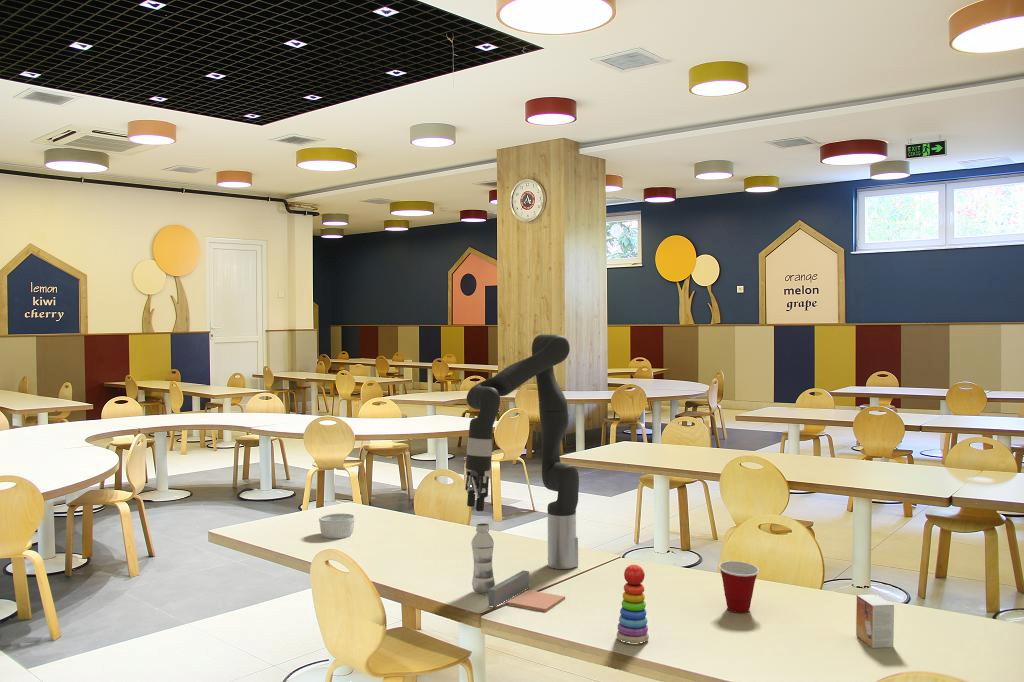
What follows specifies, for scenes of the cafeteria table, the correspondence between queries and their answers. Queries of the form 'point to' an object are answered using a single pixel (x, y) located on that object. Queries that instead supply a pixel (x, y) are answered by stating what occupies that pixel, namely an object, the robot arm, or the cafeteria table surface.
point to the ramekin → (337, 525)
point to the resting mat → (536, 600)
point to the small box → (875, 621)
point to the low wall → (508, 588)
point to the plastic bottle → (482, 559)
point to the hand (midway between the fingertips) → (475, 508)
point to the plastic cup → (738, 584)
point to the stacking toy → (633, 608)
